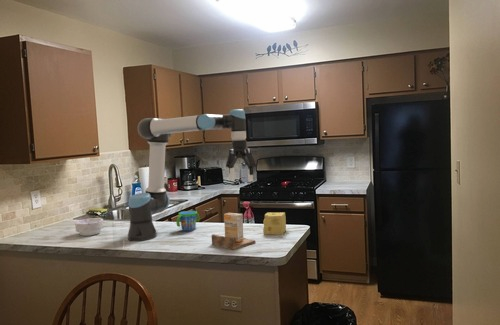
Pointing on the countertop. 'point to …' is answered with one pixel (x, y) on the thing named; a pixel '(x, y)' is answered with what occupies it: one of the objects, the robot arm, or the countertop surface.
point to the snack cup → (187, 220)
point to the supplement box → (234, 226)
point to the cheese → (274, 223)
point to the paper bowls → (89, 226)
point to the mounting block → (230, 242)
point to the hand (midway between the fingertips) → (241, 180)
